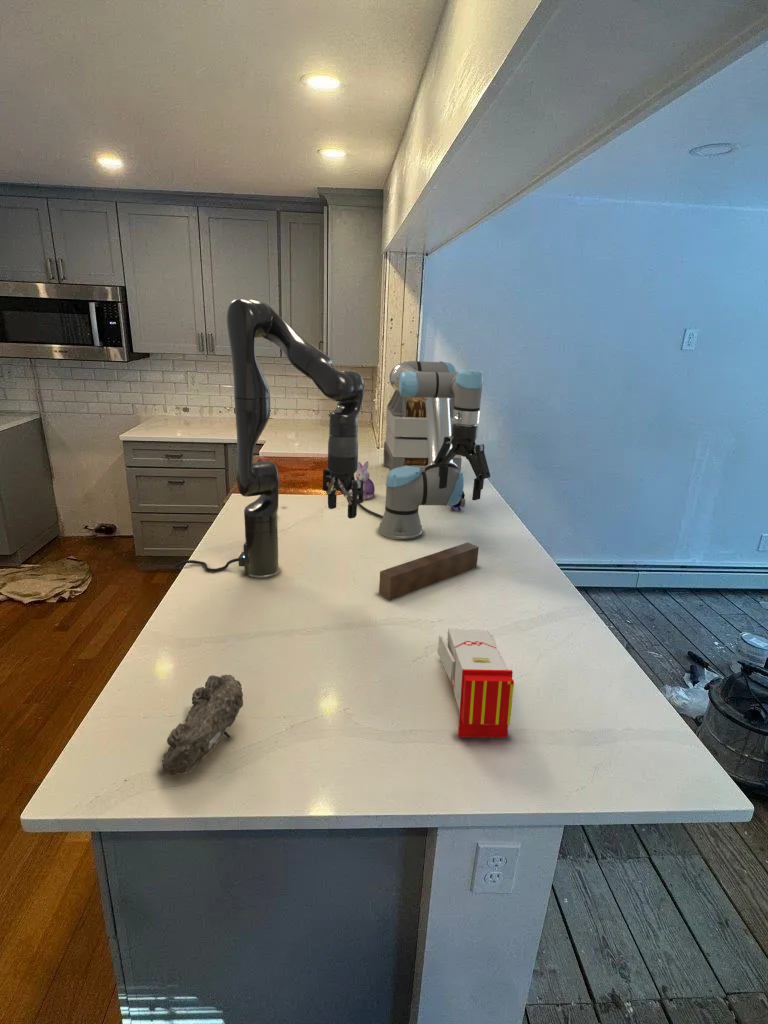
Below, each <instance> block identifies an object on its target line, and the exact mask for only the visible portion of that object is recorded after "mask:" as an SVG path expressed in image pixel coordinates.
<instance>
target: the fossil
mask: <svg viewBox="0 0 768 1024" xmlns="http://www.w3.org/2000/svg"><path fill="white" fill-rule="evenodd" d="M243 696H244V694H243V687H242V684H241V682H240V680H237V679H236V678H235V677H234V676H233V675H232V674H222V675H221V676H217V675H209V676H208V677H207V678H206V681H205V684H204V686H201V687H197V688H195V690H193V693H192V697H191V704H192V705H191V707H190V709H189V710H188V713H187V715H186V716H185V719H184V723H178V724H177V726H176V727H175V728H173V729H172V730H171V731H170V734H169V735H168V737H167V738H166V743H167V745H168V748H167V750H166V752H165V753H163V755H162V757H163V759H161V766H162V771H163V773H168V774H169V775H170V776H174V775H178V774H183V773H185V774H189V773H190V772H191V771H192V770H193V769H194V767H196V766H197V765H198V764H199V763H200V762H202V760H203V759H204V758H205V757H206V756H207V755H208V754H209V753H210V752H211V751H213V750H214V749H215V747H216V746H217V743H218V741H220V740H221V739H222V737H223V736H225V737H226V738H228V739H230V738H231V735H230V734H229V733H228V732H227V729H228V728H231V727H232V725H233V724H234V723H235V722H236V719H237V717H238V714H239V713H240V710H241V709H242V708H243V707H244V699H243V698H244V697H243Z"/></svg>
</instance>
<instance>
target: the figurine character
mask: <svg viewBox="0 0 768 1024" xmlns="http://www.w3.org/2000/svg"><path fill="white" fill-rule="evenodd" d="M465 496H466V494H465V492H464V490H463V492H462V496H461V499H460V501H459V503H458V504H456V505H448V506H449V508H450V509H451V511H454V509H458V511H461V510H462V509H461V508H465V505H466V497H465Z"/></svg>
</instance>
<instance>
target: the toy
mask: <svg viewBox="0 0 768 1024" xmlns="http://www.w3.org/2000/svg"><path fill="white" fill-rule="evenodd" d="M446 640H447V643H446V641H445V639H444V636H443V635H442V634H439V637H438V646H437V656H438V657H439V659H440V661H441V663H442V666H443V668H444V670H445V672H446V674H447V677H448V679H449V681H450V684H451V687H452V690H453V693H454V697H455V701H456V705H457V708H458V711H459V714H458V715H459V716H458V730H457V731H458V732H457V737H458V738H508V731H509V726H510V725H511V717H512V707H513V697H514V696H513V695H514V684H515V680H514V679H513V673H514V671H513V670H512V669H508V667H507V665H506V662H505V661H504V659H503V658H502V655H501V653H500V651H499V649H498V647H497V643H496V639H495V637H494V635H493V634H491V632H490V631H489V629H467V628H466V629H465V628H463V629H461V628H460V629H459V628H448V630H447V639H446Z"/></svg>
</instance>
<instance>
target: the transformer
mask: <svg viewBox="0 0 768 1024" xmlns="http://www.w3.org/2000/svg"><path fill="white" fill-rule="evenodd" d="M454 400H455V398H452V399H451V400H450V401H449V407H450V424H451V436H452V425H453V424H454V422H453V413H454ZM385 414H386V415H385V423H386V428H385V438H384V442H383V466H384V467H388V468H389V471H391V470H392V469H394V468H398V467H403V466H412V467H414V466H415V467H426V466H427V465H428V463H429V462H428V442H427V422H426V403H425V402H423V401H422V400H421V397H413V398H410V397H403V396H401V395H400V392H399V391H397V390H395V389H394V392H393V394H392V395H391V398H390V400H389V402H388V404H387V405H386V413H385ZM452 438H453V437H452ZM452 447H453V446H452ZM462 461H463V460H462V456H461V455H455V457H454V458H453V463H454V464H456V465H457V467H458V472H462Z"/></svg>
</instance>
